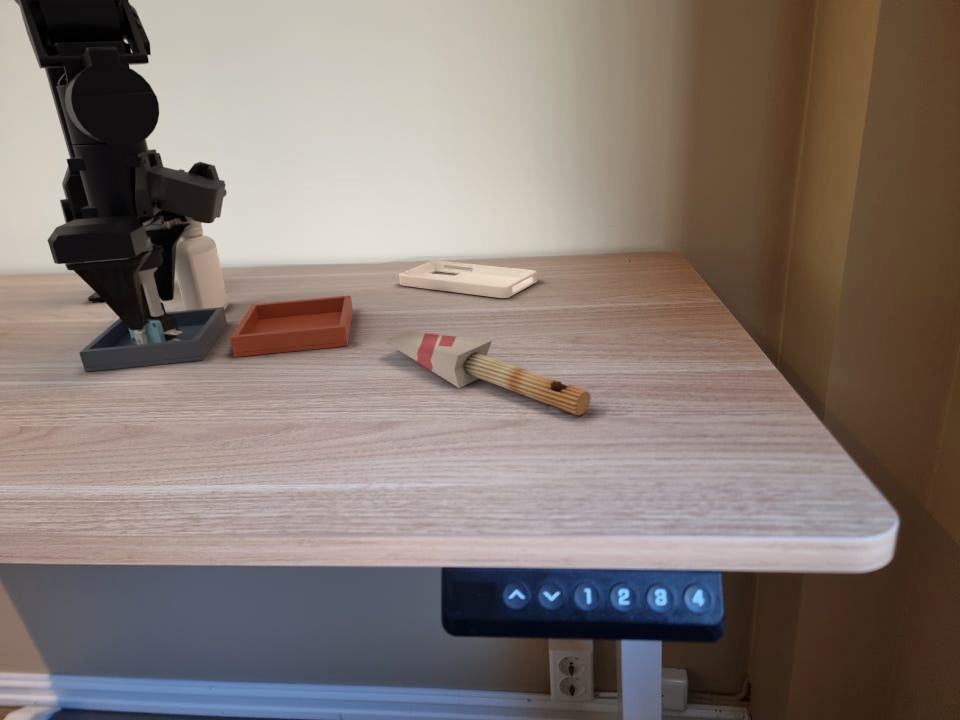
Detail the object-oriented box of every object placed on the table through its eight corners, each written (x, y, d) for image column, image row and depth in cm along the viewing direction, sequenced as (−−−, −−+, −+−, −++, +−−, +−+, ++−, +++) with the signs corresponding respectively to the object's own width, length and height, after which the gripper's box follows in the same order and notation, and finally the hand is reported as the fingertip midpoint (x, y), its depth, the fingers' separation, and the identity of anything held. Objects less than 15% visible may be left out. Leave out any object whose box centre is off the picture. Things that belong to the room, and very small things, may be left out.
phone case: (397, 285, 81) (506, 299, 73) (396, 274, 80) (506, 287, 72) (434, 270, 86) (539, 281, 79) (433, 259, 86) (538, 270, 78)
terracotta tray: (254, 321, 71) (251, 304, 70) (353, 312, 72) (350, 295, 71) (234, 357, 62) (230, 337, 61) (347, 346, 63) (344, 326, 62)
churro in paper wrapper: (411, 313, 60) (599, 377, 47) (413, 342, 61) (597, 411, 49) (376, 325, 58) (565, 395, 45) (379, 355, 59) (564, 432, 46)
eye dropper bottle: (242, 308, 76) (220, 199, 71) (196, 323, 72) (169, 208, 67) (219, 302, 78) (197, 197, 74) (174, 316, 74) (147, 206, 70)
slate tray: (126, 333, 70) (121, 316, 69) (227, 324, 71) (223, 306, 70) (84, 372, 61) (78, 352, 60) (202, 360, 62) (198, 340, 61)
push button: (205, 339, 66) (181, 236, 62) (156, 358, 61) (128, 249, 58) (161, 330, 69) (137, 232, 65) (113, 348, 65) (83, 245, 61)
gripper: (174, 143, 51) (217, 339, 57) (229, 129, 68) (258, 280, 74) (17, 154, 50) (78, 352, 56) (113, 137, 67) (151, 290, 73)
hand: (153, 313), depth 65 cm, fingers open, 9 cm apart
